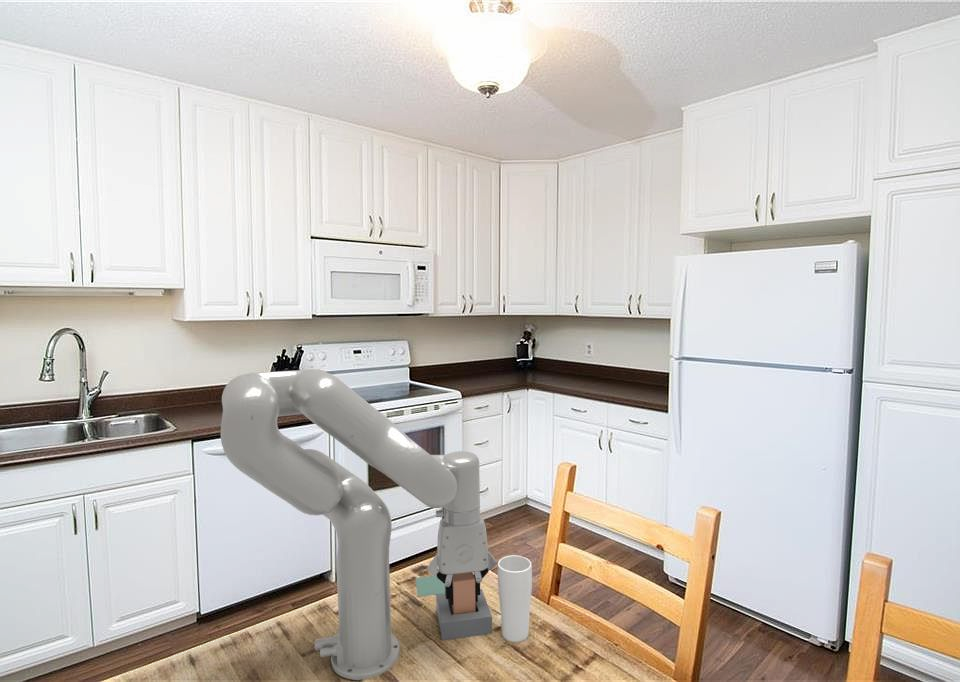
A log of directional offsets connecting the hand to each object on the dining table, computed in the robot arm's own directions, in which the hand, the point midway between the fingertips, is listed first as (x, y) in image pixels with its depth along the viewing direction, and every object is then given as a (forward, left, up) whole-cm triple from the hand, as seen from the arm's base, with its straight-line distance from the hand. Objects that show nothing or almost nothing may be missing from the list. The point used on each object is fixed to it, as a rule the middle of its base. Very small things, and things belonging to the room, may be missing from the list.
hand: (462, 598), depth 107 cm
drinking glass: (+9, -6, -6) cm, 13 cm away
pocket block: (0, 0, -5) cm, 5 cm away
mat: (-5, +15, -5) cm, 17 cm away
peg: (0, 0, -5) cm, 5 cm away
